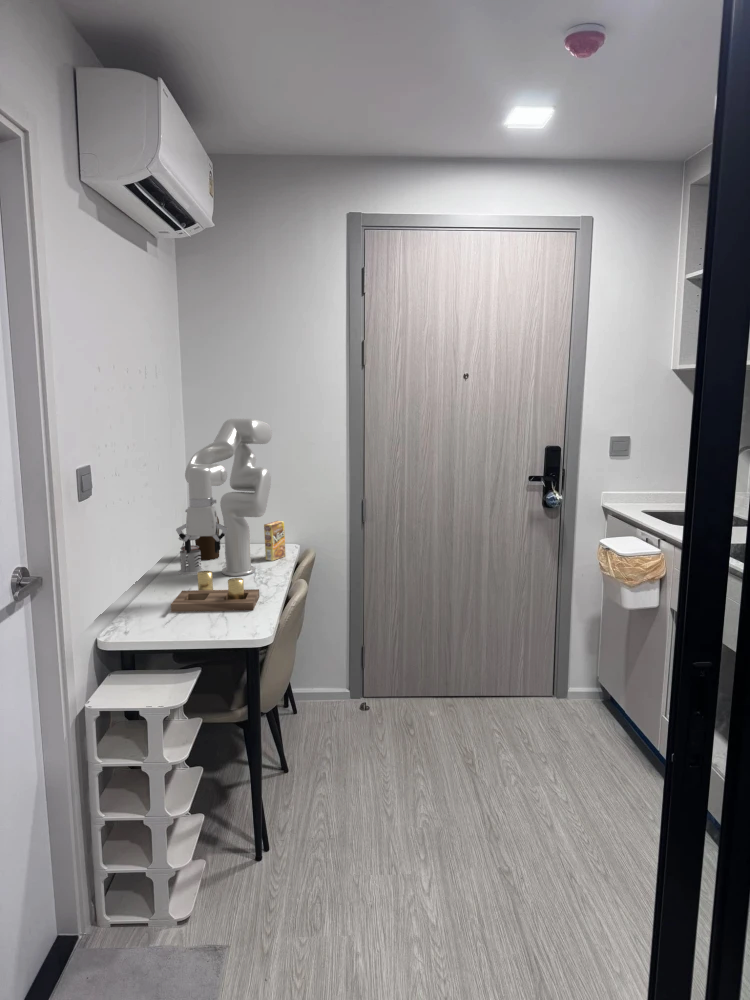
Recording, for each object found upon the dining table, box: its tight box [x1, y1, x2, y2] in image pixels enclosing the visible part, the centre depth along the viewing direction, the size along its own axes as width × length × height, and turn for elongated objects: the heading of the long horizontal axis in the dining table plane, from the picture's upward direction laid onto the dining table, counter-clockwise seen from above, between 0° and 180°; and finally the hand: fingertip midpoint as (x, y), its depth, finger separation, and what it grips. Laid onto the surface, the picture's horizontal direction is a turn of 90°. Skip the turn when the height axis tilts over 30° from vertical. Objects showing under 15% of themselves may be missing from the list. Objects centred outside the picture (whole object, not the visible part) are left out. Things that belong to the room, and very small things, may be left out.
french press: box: [178, 508, 205, 576], centre depth 255 cm, size 10×12×25 cm
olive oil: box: [194, 516, 220, 561], centre depth 276 cm, size 11×11×25 cm
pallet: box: [170, 588, 260, 613], centre depth 216 cm, size 14×26×4 cm, turn 92°
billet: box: [196, 570, 214, 590], centre depth 228 cm, size 5×5×8 cm
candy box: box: [263, 520, 287, 562], centre depth 275 cm, size 9×4×15 cm, turn 150°
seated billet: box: [227, 577, 245, 600], centre depth 215 cm, size 5×5×8 cm
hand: (202, 552), depth 225 cm, fingers open, 9 cm apart
